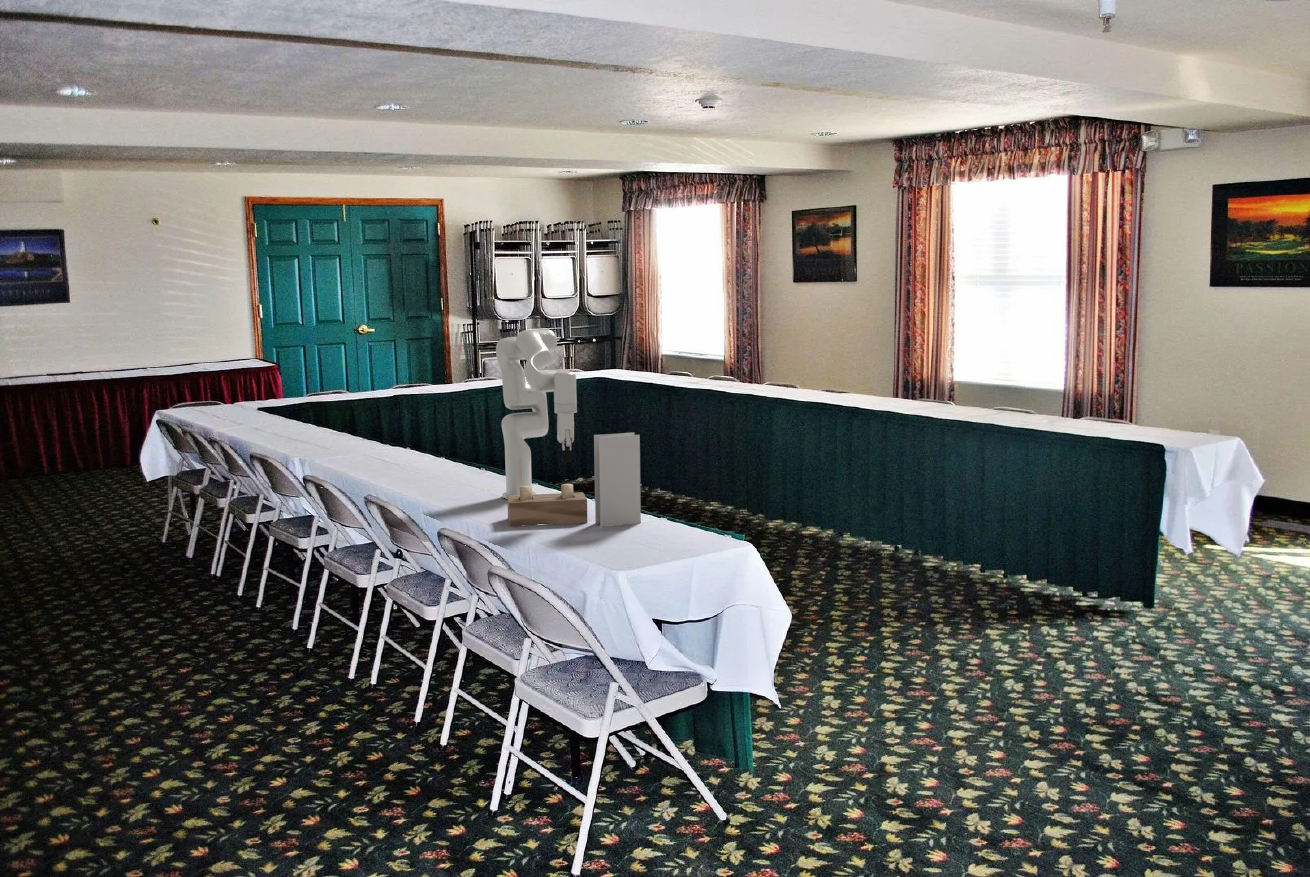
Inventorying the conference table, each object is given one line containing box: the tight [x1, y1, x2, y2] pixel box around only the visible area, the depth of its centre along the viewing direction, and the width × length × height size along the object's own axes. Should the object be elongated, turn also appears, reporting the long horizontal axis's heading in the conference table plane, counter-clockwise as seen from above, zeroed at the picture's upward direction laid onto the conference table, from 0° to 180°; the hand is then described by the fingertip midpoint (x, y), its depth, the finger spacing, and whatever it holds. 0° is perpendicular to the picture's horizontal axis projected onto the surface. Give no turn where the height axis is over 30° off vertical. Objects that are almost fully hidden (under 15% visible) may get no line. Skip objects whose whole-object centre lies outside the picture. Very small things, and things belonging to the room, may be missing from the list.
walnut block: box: [506, 491, 588, 527], centre depth 373 cm, size 12×26×8 cm, turn 100°
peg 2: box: [560, 483, 574, 498], centre depth 373 cm, size 4×4×8 cm
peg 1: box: [520, 485, 533, 500], centre depth 371 cm, size 4×4×8 cm
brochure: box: [593, 432, 642, 528], centre depth 367 cm, size 14×6×30 cm, turn 111°
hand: (567, 462), depth 371 cm, fingers closed
